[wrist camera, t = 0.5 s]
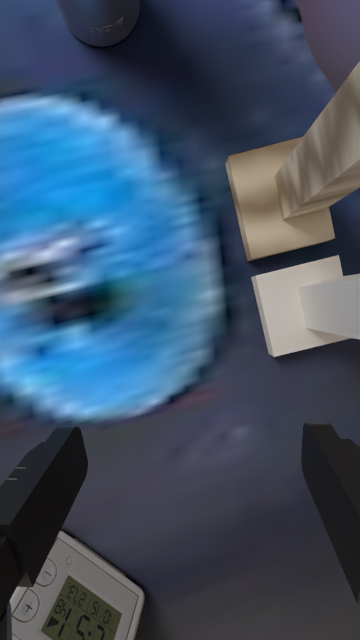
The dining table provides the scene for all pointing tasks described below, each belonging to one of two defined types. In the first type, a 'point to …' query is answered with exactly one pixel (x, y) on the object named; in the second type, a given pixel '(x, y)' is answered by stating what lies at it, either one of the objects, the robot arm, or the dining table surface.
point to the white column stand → (308, 306)
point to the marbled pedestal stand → (299, 179)
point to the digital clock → (76, 598)
